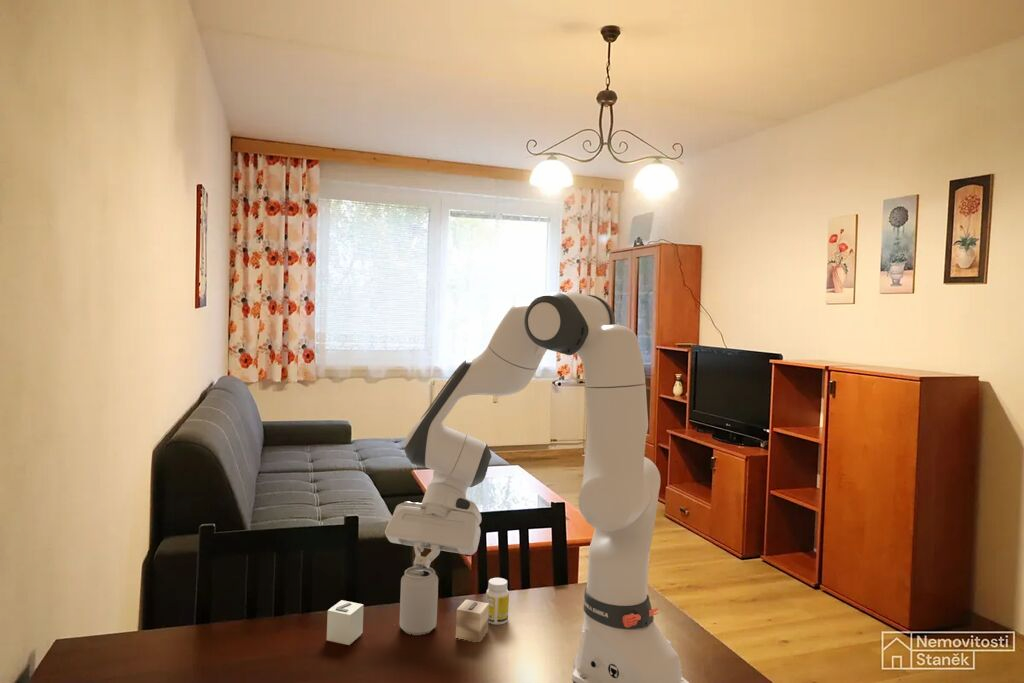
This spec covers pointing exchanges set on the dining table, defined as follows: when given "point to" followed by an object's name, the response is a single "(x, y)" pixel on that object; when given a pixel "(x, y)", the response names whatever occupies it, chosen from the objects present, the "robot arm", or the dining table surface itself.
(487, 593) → the supplement bottle
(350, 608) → the cream white block seven
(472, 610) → the birch block one
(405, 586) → the can
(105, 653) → the dining table surface
